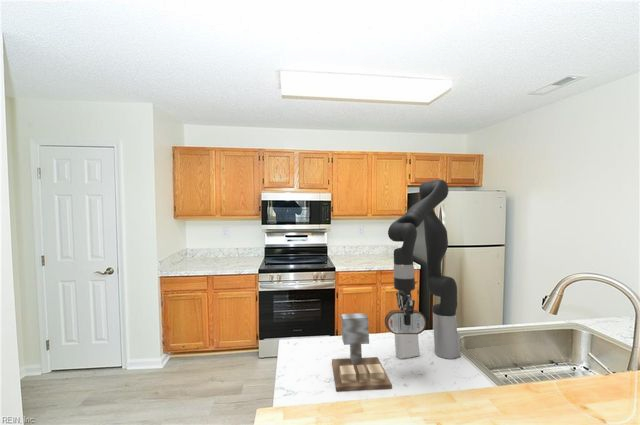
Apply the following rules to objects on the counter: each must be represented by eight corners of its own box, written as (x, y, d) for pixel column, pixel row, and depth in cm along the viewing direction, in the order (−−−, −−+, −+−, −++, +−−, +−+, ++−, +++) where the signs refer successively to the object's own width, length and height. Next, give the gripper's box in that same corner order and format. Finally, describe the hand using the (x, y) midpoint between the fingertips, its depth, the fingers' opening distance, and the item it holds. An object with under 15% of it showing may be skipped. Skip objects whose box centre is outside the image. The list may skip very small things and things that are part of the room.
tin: (424, 332, 102) (423, 309, 103) (428, 334, 99) (426, 310, 100) (384, 333, 101) (383, 309, 103) (387, 335, 98) (386, 311, 100)
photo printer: (399, 360, 113) (397, 329, 113) (394, 355, 117) (392, 326, 118) (421, 356, 115) (419, 326, 116) (415, 352, 119) (413, 323, 120)
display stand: (377, 360, 113) (375, 312, 114) (392, 388, 93) (389, 330, 94) (332, 362, 112) (330, 314, 113) (336, 391, 92) (334, 332, 93)
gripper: (421, 279, 95) (423, 329, 94) (407, 273, 109) (409, 317, 108) (400, 279, 95) (402, 330, 94) (388, 273, 109) (390, 317, 108)
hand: (406, 323), depth 101 cm, fingers closed on tin, 2 cm apart
